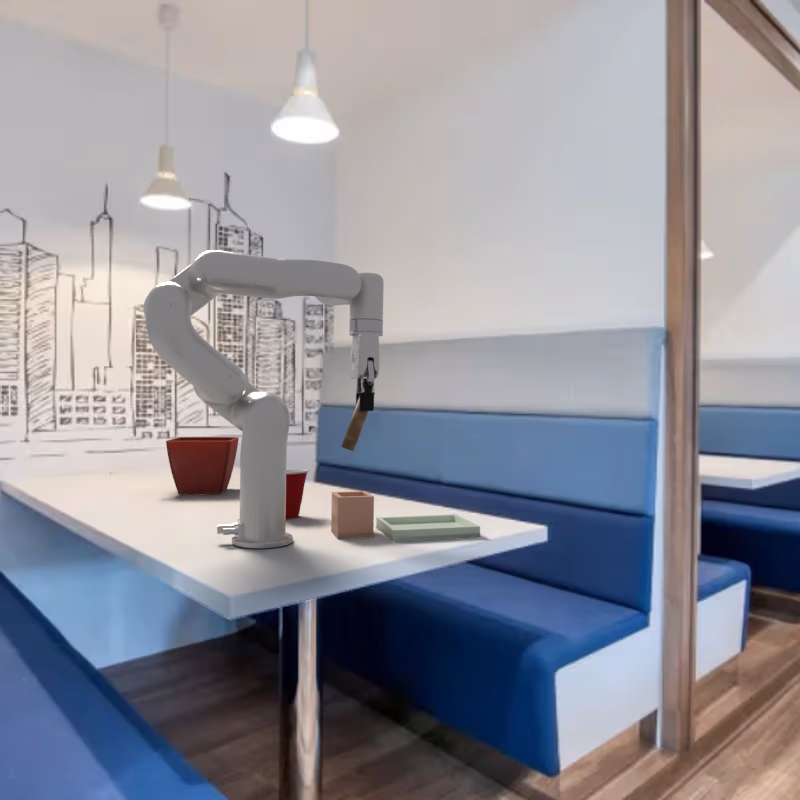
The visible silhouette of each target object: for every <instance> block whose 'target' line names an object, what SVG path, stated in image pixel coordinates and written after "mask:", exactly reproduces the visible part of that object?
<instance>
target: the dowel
mask: <svg viewBox="0 0 800 800" xmlns="http://www.w3.org/2000/svg"><path fill="white" fill-rule="evenodd" d="M375 394H376V393H375V391H374V395H375ZM359 398H360V397H359ZM368 413H369V411H360V410H359V399H358V402H357V405H356V404H355V409H354V411H353V414H352V415H351V418H350V422H349V424H348V426H347V429H346V430H347V431H346V433H345V435H344V438H343V441H342V443H341V448H343V449H345V450H349V451H352V452H355V449H356V447H357V444H358V442H359V438H360V435H361V434H362V433H361V432H362V429H363V428H364V424H365V422H366V418H367V416H368Z"/></svg>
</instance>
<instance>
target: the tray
mask: <svg viewBox="0 0 800 800" xmlns="http://www.w3.org/2000/svg"><path fill="white" fill-rule="evenodd" d="M375 522H376V529H377V530H378V531H379V532H381V534H383V535H384V536H385V537H386V538H387V539H388V540H389V541H391V542H392V543H401V542H421V541H441V540H443V539H444V540H457V539H456V538H464V539H470V538H469V537H480V538H481V526H480V525H478V524H476V523H474V522H472V521H470V520H469V519H466V518H464V517H463V516H460V515H458V514H455V513H454V514H453V513H451V514H450V513H449V514H428V515H427V514H426V515H408V516H407V515H403V516H381V517H379V516H377V517H376V521H375Z"/></svg>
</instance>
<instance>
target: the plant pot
mask: <svg viewBox="0 0 800 800" xmlns="http://www.w3.org/2000/svg"><path fill="white" fill-rule="evenodd" d="M165 443H166V445H165V446H166V451H167V458H168V462H169V467H170V472H171V475H172V478H173V482H174V485H175V488H176V492H177V493H178V494H179V495H222V494H223V493H224V492H225V491H226V490H227V489H228V487H229V484H230V481H231V477H232V474H233V470H234V467H235V462H236V459H237V458H236V457H237V451H238V445H239V437H238V436H237V437H236V436H179V437H175V438H170V439H167V440H165Z"/></svg>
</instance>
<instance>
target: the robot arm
mask: <svg viewBox="0 0 800 800" xmlns="http://www.w3.org/2000/svg"><path fill="white" fill-rule="evenodd" d="M384 285H385V284H384V279H383V276H382V275H380V274H378V273H374V272H359V273H358V271H357V270H356V269H355V268H353V267H352V266H350V265H347V264H343V263H340V262H339V263H337V262H331V261H330V262H329V261H324V260H318V259H317V260H316V259H315V260H314V259H298V258H297V259H293V258H276V257H275V258H274V257H266V256H261V255H260V256H259V255H254V254H253V255H252V254H245V253H238V252H231V251H225V250H214V249H213V250H206V251H203V252H202V253H200V254H199V255H197V257H196V258H195V259H194V260H193V261H192V262H191V263H190V264H189V265H188V266H187V267H186V268H184V269H183V270H182V271H180V272H178V274H176V275H175V276H174V277H172V278H170V279H169V280H168V281H167V282H166V281H165V282H162V283H159V284H157V285H156V286H154V287H153V288H152V289H151V290H150V291H149V293H148V295H147V296H146V297H145V300H144V302H143V313H144V317H145V327H146V332H147V335H148V338H149V341H150V344H151V345H152V347H153V349H154V351H155V353H156V354H157V355H158V356H159V358H160V359H161V360H162V361H164V363H165V364H167V366H169V367H170V368H171V369H173V370H174V371H175V372H176V373H177V374H178V375H180V377H182V378H183V379H184V380H185V381H187V382H188V383H189V384H190V385H192V387H193V391H194V392H195V394H196V396H197V397H198V398H199V399H200V400H201V402H203V403H204V404H206V406H208V407H209V408H210V409H212V410H213V411H215V413H217V414H218V415H220V416H221V417H222V418H223V419H225V420H226V421H227V422H228V423H230V424H231V425H233V426H234V427H236V428H237V429H239V431H241V433H242V434H241V444H240V457H239V518H238V519H237V521H236V522H232V524H225V523H224V524H223V523H222V524H217V526H216V533H217V535H221V534H222V535H223V536H226V535H227V536H228V535H233V536H231V544H232V545H233V546H236V547H239V548H245V549H273V548H279V547H284V546H287V545H289V544H292V543H293V541H294V535H292V533H290V532H286V522H287V521H286V520H287V519H286V470H287V449H288V438H289V433H290V432H289V431H290V422H291V419H290V418H291V417H290V416H291V415H290V411H289V408H288V406H287V403H286V402H285V401H284V400H283V398H281V397H280V396H279V395H277V394H275V393H272V392H268V391H260V390H259V389H257V388H256V387H255V386H254V385H252V384H251V383H250V382H249V381H248V380H247V377H246V375H245V372H243V370H242V369H241V368H240V367H239V366H238V365H237V364H236V363H234V362H233V361H232V360H230V359H229V358H227V357H226V356H225V355H223V354H222V353H221V352H220V351H218V350H217V349H216V348H214V346H212V345H211V344H210V343H209V342H208V341H206V340H205V339H204V338H203V337H202V336H201V335H200V334H199V333H198V332H197V330H196V329H195V328H194V326H193V322H192V320H191V317H192V316H193V315H194V314H195V313H196V312H199V311H200V310H201V309H203V307H205V306H207V304H209V303H210V302H211V301H213V299H215V298H216V297H217V296H219V295H220V294H225V295H234V296H236V295H237V296H245V297H253V298H258V299H259V298H261V299H268V300H271V299H272V300H273V299H277V300H279V299H285V298H286V299H287V298H292V297H315V298H316V300H317V301H318V302H320V303H321V304H323V305H327V306H343V305H344V306H345V305H347V306H348V305H349V336H352V338H351V345H350V346H351V347H350V361H349V362H350V363H349V378H350V379H352V380H355V379H356V386H355V388H356V389H355V390H356V391H355V406H356V405H357V402H358V399H359V410H360V411H368V412H373V411H374V410H375V394H374V392H375V380H376V379H377V378H378V377H379V375H380V338H379V337H383V335H384V333H383V332H384V327H383V326H384V289H385V288H384ZM359 397H360V398H359Z"/></svg>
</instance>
